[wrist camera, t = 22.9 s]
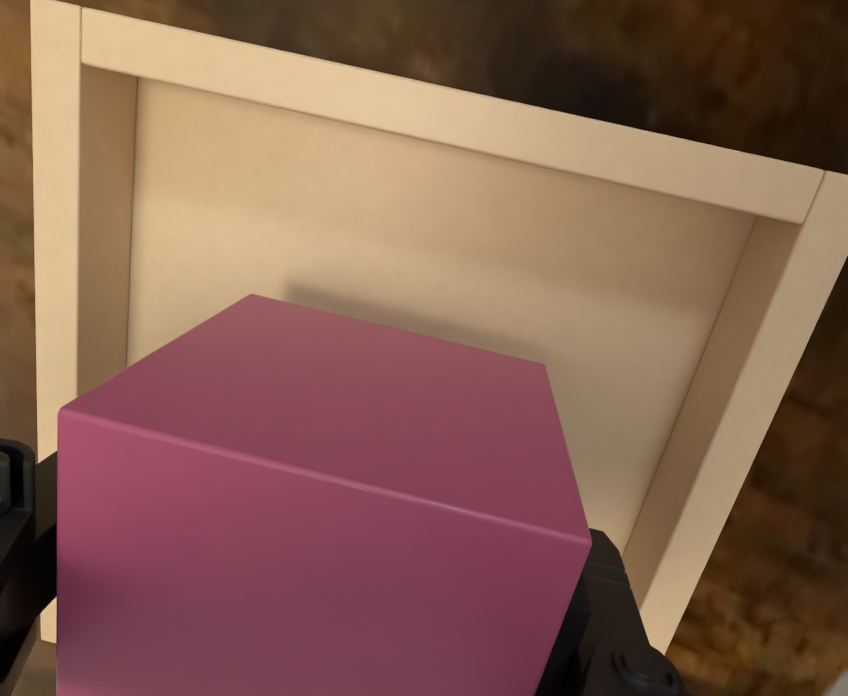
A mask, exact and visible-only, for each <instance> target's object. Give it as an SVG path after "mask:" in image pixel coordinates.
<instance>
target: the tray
mask: <svg viewBox="0 0 848 696" xmlns="http://www.w3.org/2000/svg"><path fill="white" fill-rule="evenodd" d="M30 10H31V70H32V129H33V189H34V249H35V309H36V369H37V429H38V463H40V462H41V461H42V460H44V459H45V458H47V457H48V456H50V455H51V454H53V453H54V452H55V451H57V414H58V412H59V410H60V408H61V407H62V406H64V405H66V404H67V403H69V402H71V401H72V400H74V399H76V398H77V397H79V396H81V395H82V394H84V393H86V392H87V391H89V390H91V389H92V388H94V387H96V386H97V385H99V384H101V383H102V382H104V381H106V380H107V379H109V378H111V377H112V376H114V375H116V374H117V373H119V372H121V371H122V370H124V369H126V368H127V367H129V366H131V365H132V364H134V363H136V362H137V361H139V360H141V359H142V358H144V357H146V356H147V355H149V354H151V353H152V352H154V351H156V350H157V349H159V348H161V347H162V346H164V345H166V344H167V343H169V342H171V341H172V340H174V339H176V338H177V337H179V336H181V335H182V334H184V333H186V332H187V331H189V330H191V329H192V328H194V327H196V326H197V325H199V324H201V323H202V322H204V321H206V320H207V319H209V318H211V317H212V316H214V315H216V314H217V313H219V312H221V311H222V310H224V309H226V308H227V307H229V306H231V305H232V304H234V303H236V302H237V301H239V300H241V299H242V298H244V297H246V296H247V295H249V294H255V295H259V296H264V297H268V298H272V299H276V300H280V301H284V302H288V303H293V304H297V305H301V306H305V307H309V308H313V309H317V310H322V311H326V312H330V313H334V314H338V315H342V316H347V317H351V318H355V319H359V320H363V321H367V322H371V323H376V324H380V325H384V326H388V327H392V328H396V329H400V330H405V331H409V332H413V333H417V334H421V335H425V336H430V337H434V338H438V339H442V340H446V341H450V342H454V343H459V344H463V345H467V346H471V347H475V348H479V349H483V350H488V351H492V352H496V353H500V354H504V355H508V356H513V357H517V358H521V359H525V360H529V361H533V362H537V363H542V364H544V365H545V366H546V370H547V374H548V377H549V381H550V385H551V389H552V392H553V396H554V400H555V404H556V407H557V411H558V415H559V419H560V422H561V426H562V430H563V434H564V437H565V441H566V445H567V449H568V452H569V456H570V460H571V464H572V467H573V471H574V475H575V479H576V482H577V486H578V490H579V494H580V497H581V501H582V505H583V509H584V512H585V516H586V520H587V524H588V527H589V528H592V529H596V530H600V531H604V533H605V534H606V535H607V536H608V537H609V539H610V540H611V541H612V542H613V544H614V545H615V546H616V547H617V548H618V550H619V552H620V555H621V558H622V561H623V564H624V567H625V573H627V576H628V579H629V582H630V589H632V592H633V595H634V598H635V601H636V604H637V607H638V610H639V613H640V616H641V619H642V622H643V625H644V628H645V631H646V634H647V637H648V640H649V643H650V645H651V646H652V647H654V648H656V649H657V650H659V651H660V652H661V653H662V654H663V655H665V652H666V650H667V648H668V646H669V644H670V641H671V639H672V637H673V635H674V633H675V631H676V628H677V626H678V624H679V622H680V620H681V617H682V615H683V613H684V611H685V609H686V607H687V604H688V602H689V600H690V598H691V596H692V594H693V591H694V589H695V587H696V585H697V583H698V580H699V578H700V576H701V574H702V572H703V570H704V567H705V565H706V563H707V561H708V559H709V556H710V554H711V552H712V550H713V548H714V546H715V543H716V541H717V539H718V537H719V535H720V532H721V530H722V528H723V526H724V524H725V522H726V519H727V517H728V515H729V513H730V511H731V508H732V506H733V504H734V502H735V500H736V498H737V495H738V493H739V491H740V489H741V487H742V485H743V482H744V480H745V478H746V476H747V474H748V471H749V469H750V467H751V465H752V463H753V461H754V458H755V456H756V454H757V452H758V450H759V447H760V445H761V443H762V441H763V439H764V437H765V434H766V432H767V430H768V428H769V426H770V423H771V421H772V419H773V417H774V415H775V413H776V410H777V408H778V406H779V404H780V402H781V399H782V397H783V395H784V393H785V391H786V389H787V386H788V384H789V382H790V380H791V378H792V376H793V373H794V371H795V369H796V367H797V365H798V362H799V360H800V358H801V356H802V354H803V352H804V349H805V347H806V345H807V343H808V341H809V338H810V336H811V334H812V332H813V330H814V328H815V325H816V323H817V321H818V319H819V317H820V314H821V312H822V310H823V308H824V306H825V304H826V301H827V299H828V297H829V295H830V293H831V290H832V288H833V286H834V284H835V282H836V280H837V277H838V275H839V273H840V271H841V269H842V267H843V264H844V262H845V260H846V258H847V256H848V175H845V174H841V173H836V172H832V171H823V170H822V169H818V168H814V167H809V166H805V165H800V164H796V163H791V162H786V161H782V160H777V159H773V158H768V157H764V156H759V155H755V154H750V153H746V152H741V151H736V150H732V149H727V148H723V147H718V146H714V145H709V144H705V143H700V142H696V141H691V140H686V139H682V138H677V137H673V136H668V135H664V134H659V133H655V132H650V131H646V130H641V129H636V128H632V127H627V126H623V125H618V124H614V123H609V122H605V121H600V120H596V119H591V118H587V117H582V116H577V115H573V114H568V113H564V112H559V111H555V110H550V109H546V108H541V107H537V106H532V105H527V104H523V103H518V102H514V101H509V100H505V99H500V98H496V97H491V96H487V95H482V94H477V93H473V92H468V91H464V90H459V89H455V88H450V87H446V86H441V85H437V84H432V83H428V82H423V81H418V80H414V79H409V78H405V77H400V76H396V75H391V74H387V73H382V72H378V71H373V70H368V69H364V68H359V67H355V66H350V65H346V64H341V63H337V62H332V61H328V60H323V59H318V58H314V57H309V56H305V55H300V54H296V53H291V52H287V51H282V50H278V49H273V48H269V47H264V46H259V45H255V44H250V43H246V42H241V41H237V40H232V39H228V38H223V37H219V36H214V35H209V34H205V33H200V32H196V31H191V30H187V29H182V28H178V27H173V26H169V25H164V24H159V23H155V22H150V21H146V20H141V19H137V18H132V17H128V16H123V15H119V14H114V13H110V12H105V11H100V10H96V9H91V8H87V7H86V8H84V7H81V6H78V5H74V4H69V3H65V2H60V1H55V0H30ZM56 617H57V597H56V598H55V599H54V600H53V601H52V602H51V603H50V604H49V605H48V606H47V607H46V608H45V609H44V610H43V611H42V612H41V639H42V640H45V641H49V642H53V643H56Z"/></svg>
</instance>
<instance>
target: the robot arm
mask: <svg viewBox="0 0 848 696" xmlns="http://www.w3.org/2000/svg"><path fill="white" fill-rule="evenodd" d="M589 531H590V535H591V539H592V546H591V549H590V551H589V554H588V556H587V559H586V562H585V564H584V567H583V570H582V572H581V575H580V577H579V580H578V583H577V585H576V588H575V590H574V593H573V596H572V598H571V601H570V604H569V606H568V609H567V611H566V614H565V617H564V619H563V622H562V625H561V627H560V630H559V632H558V635H557V638H556V640H555V643H554V645H553V648H552V651H551V653H550V656H549V659H548V661H547V664H546V666H545V669H544V672H543V674H542V677H541V680H540V682H539V685H538V687H537V690H536V693H535V695H534V696H692V695H690V694H689V693H687V692H686V691H685V689H684V685H683V680H682V678H681V676H680V675H679V673H678V672H677V670H676V668H675V667H674V665H673V664H672V663H671V662H670V661H669V660H668V659H667V658H666V657H665V656H664V655H663V654H662V653H661V652H660V651H659V650H657V649H656V648H654V647H652V646H651V645H650V643H649V640H648V637H647V634H646V631H645V628H644V625H643V622H642V619H641V616H640V613H639V610H638V607H637V604H636V601H635V598H634V595H633V592H632V589H630V582H629V579H628V576H627V573H625V567H624V564H623V561H622V558H621V555H620V552H619V550H618V548H617V547H616V546H615V545H614V544H613V542H612V541H611V540H610V539H609V537H608V536H607V535H606V534H605V533H604V531H600V530H596V529H592V528H589ZM56 597H57V451H55V452H54V453H53V454H51V455H50V456H48V457H47V458H45V459H44V460H42V461H41V462H40V463H38V464H37V465H35V454H34V452H33V451H32V449H31V448H30V447H29V446H27V445H25V444H23V443H21V442H19V441H15V440H9V439H2V438H0V696H10V695H11V693H12V691H13V689H14V687H15V684H16V682H17V680H18V678H19V676H20V674H21V671H22V669H23V667H24V665H25V663H26V660H27V658H28V656H29V654H30V652H31V649H32V647H33V645H34V643H35V641H36V636H37V631H38V615H39V614H40V613H41V612H42V611H43V610H44V609H45V608H46V607H47V606H48V605H49V604H50V603H51V602H52V601H53V600H54V599H55V598H56Z"/></svg>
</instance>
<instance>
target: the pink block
mask: <svg viewBox="0 0 848 696" xmlns="http://www.w3.org/2000/svg"><path fill="white" fill-rule="evenodd" d="M591 546H592V539H591V535H590V531H589V527H588V524H587V520H586V516H585V512H584V509H583V505H582V501H581V497H580V494H579V490H578V486H577V482H576V479H575V475H574V471H573V467H572V464H571V460H570V456H569V452H568V449H567V445H566V441H565V437H564V434H563V430H562V426H561V422H560V419H559V415H558V411H557V407H556V404H555V400H554V396H553V392H552V389H551V385H550V381H549V377H548V374H547V370H546V366H545V365H544V364H542V363H537V362H533V361H529V360H525V359H521V358H517V357H513V356H508V355H504V354H500V353H496V352H492V351H488V350H483V349H479V348H475V347H471V346H467V345H463V344H459V343H454V342H450V341H446V340H442V339H438V338H434V337H430V336H425V335H421V334H417V333H413V332H409V331H405V330H400V329H396V328H392V327H388V326H384V325H380V324H376V323H371V322H367V321H363V320H359V319H355V318H351V317H347V316H342V315H338V314H334V313H330V312H326V311H322V310H317V309H313V308H309V307H305V306H301V305H297V304H293V303H288V302H284V301H280V300H276V299H272V298H268V297H264V296H259V295H255V294H249V295H247V296H246V297H244V298H242V299H241V300H239V301H237V302H236V303H234V304H232V305H231V306H229V307H227V308H226V309H224V310H222V311H221V312H219V313H217V314H216V315H214V316H212V317H211V318H209V319H207V320H206V321H204V322H202V323H201V324H199V325H197V326H196V327H194V328H192V329H191V330H189V331H187V332H186V333H184V334H182V335H181V336H179V337H177V338H176V339H174V340H172V341H171V342H169V343H167V344H166V345H164V346H162V347H161V348H159V349H157V350H156V351H154V352H152V353H151V354H149V355H147V356H146V357H144V358H142V359H141V360H139V361H137V362H136V363H134V364H132V365H131V366H129V367H127V368H126V369H124V370H122V371H121V372H119V373H117V374H116V375H114V376H112V377H111V378H109V379H107V380H106V381H104V382H102V383H101V384H99V385H97V386H96V387H94V388H92V389H91V390H89V391H87V392H86V393H84V394H82V395H81V396H79V397H77V398H76V399H74V400H72V401H71V402H69V403H67V404H66V405H64V406H62V407H61V408H60V410H59V412H58V414H57V617H56V696H534V695H535V693H536V690H537V687H538V685H539V682H540V680H541V677H542V674H543V672H544V669H545V666H546V664H547V661H548V659H549V656H550V653H551V651H552V648H553V645H554V643H555V640H556V638H557V635H558V632H559V630H560V627H561V625H562V622H563V619H564V617H565V614H566V611H567V609H568V606H569V604H570V601H571V598H572V596H573V593H574V590H575V588H576V585H577V583H578V580H579V577H580V575H581V572H582V570H583V567H584V564H585V562H586V559H587V556H588V554H589V551H590V549H591Z"/></svg>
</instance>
